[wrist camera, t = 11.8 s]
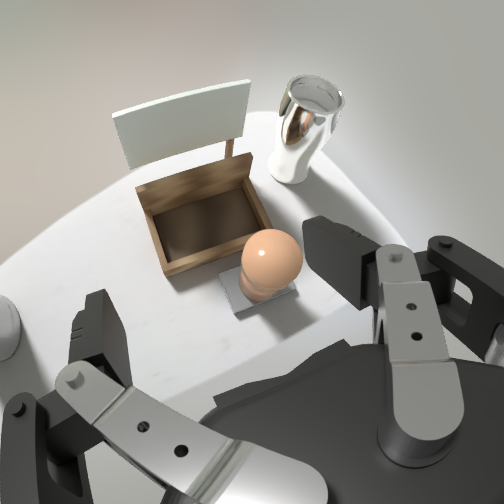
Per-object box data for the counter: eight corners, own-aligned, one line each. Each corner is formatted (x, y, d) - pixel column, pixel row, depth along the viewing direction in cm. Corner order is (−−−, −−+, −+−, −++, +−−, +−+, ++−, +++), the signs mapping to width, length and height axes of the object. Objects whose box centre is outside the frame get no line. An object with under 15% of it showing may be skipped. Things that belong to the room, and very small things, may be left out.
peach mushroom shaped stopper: (246, 312, 37) (257, 296, 28) (227, 268, 38) (233, 240, 30) (289, 294, 38) (312, 273, 29) (270, 252, 39) (286, 221, 31)
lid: (130, 169, 34) (113, 117, 26) (129, 165, 34) (112, 113, 26) (242, 136, 38) (251, 82, 29) (240, 132, 38) (248, 78, 29)
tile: (233, 314, 37) (234, 312, 36) (218, 275, 39) (218, 273, 38) (294, 289, 39) (296, 287, 38) (277, 253, 40) (279, 251, 40)
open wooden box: (166, 277, 38) (148, 243, 27) (138, 188, 41) (119, 134, 30) (271, 239, 41) (292, 195, 30) (233, 158, 44) (240, 101, 34)
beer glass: (310, 152, 47) (343, 80, 33) (311, 190, 44) (349, 121, 30) (265, 145, 46) (285, 68, 32) (262, 183, 44) (284, 108, 30)
